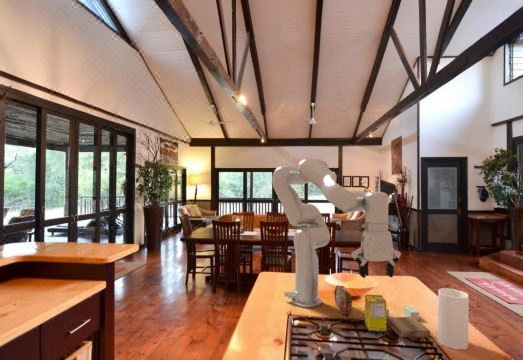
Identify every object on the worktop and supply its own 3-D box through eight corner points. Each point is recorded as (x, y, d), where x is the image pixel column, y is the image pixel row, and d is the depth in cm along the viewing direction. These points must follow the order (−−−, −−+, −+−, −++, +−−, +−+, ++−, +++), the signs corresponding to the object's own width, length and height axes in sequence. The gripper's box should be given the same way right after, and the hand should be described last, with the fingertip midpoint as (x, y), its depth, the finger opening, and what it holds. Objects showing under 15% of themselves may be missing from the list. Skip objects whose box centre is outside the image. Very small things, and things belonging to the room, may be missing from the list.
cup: (434, 334, 102) (435, 287, 102) (462, 338, 100) (463, 289, 100) (441, 347, 94) (442, 295, 94) (472, 351, 92) (472, 299, 92)
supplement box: (381, 325, 108) (381, 294, 108) (386, 333, 102) (387, 301, 102) (364, 324, 109) (364, 293, 109) (368, 332, 103) (368, 300, 103)
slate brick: (377, 320, 112) (377, 312, 112) (371, 317, 115) (371, 309, 115) (388, 317, 115) (388, 309, 115) (382, 314, 118) (382, 306, 118)
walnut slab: (400, 337, 100) (400, 331, 100) (386, 322, 110) (386, 317, 110) (429, 336, 101) (429, 330, 101) (412, 322, 111) (412, 316, 111)
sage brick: (418, 320, 113) (418, 312, 113) (410, 320, 113) (410, 312, 113) (410, 313, 119) (410, 305, 119) (402, 313, 119) (402, 305, 119)
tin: (333, 302, 129) (334, 282, 129) (341, 302, 129) (341, 282, 129) (344, 318, 114) (345, 295, 114) (353, 318, 114) (353, 295, 114)
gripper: (356, 229, 101) (356, 280, 101) (406, 229, 103) (405, 279, 102) (348, 225, 109) (348, 273, 109) (394, 225, 110) (394, 272, 110)
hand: (376, 276), depth 106 cm, fingers open, 9 cm apart
